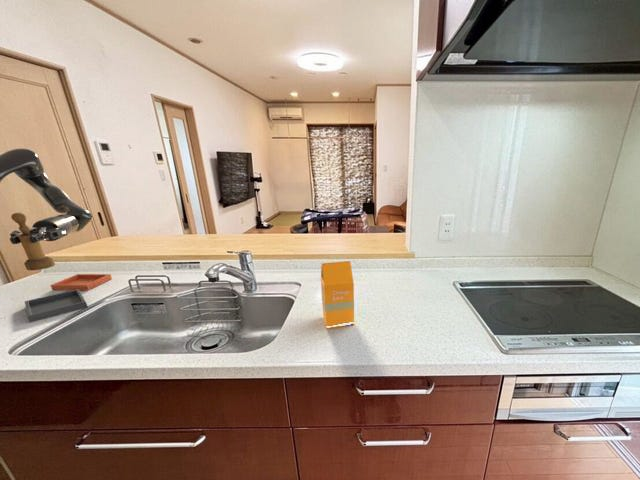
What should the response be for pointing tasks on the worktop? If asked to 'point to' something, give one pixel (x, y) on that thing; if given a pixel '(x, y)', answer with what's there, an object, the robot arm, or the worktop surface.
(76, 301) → the grey tray
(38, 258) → the mortar and pestle
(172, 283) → the worktop surface
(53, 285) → the terracotta tray
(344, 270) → the orange juice
